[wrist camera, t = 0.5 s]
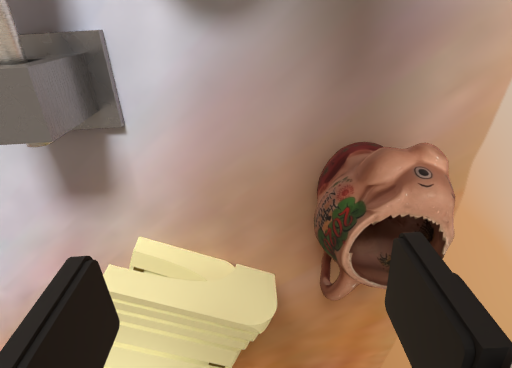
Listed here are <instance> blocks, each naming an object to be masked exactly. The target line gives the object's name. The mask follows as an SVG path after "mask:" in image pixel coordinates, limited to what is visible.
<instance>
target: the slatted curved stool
mask: <svg viewBox="0 0 512 368" xmlns="http://www.w3.org/2000/svg"><path fill="white" fill-rule="evenodd" d="M129 266H130V268H129V269H126V268H122V267H118V266H114V265H110V264H109V266H108V267H107V269H106V271H105V273H104V275H103V277H104V280H105V282H106V285H107V288H108V290H109V293H110V296H111V298H112V301H113V304H114V306H115V309H116V312H117V314H118V317H119V321H120V326H119V331H118V333H117V336H116V338H115V341H114V343H113V346H112V348H111V350H110V353H109V355H108V358H107V360H106V363H105V365H104V368H232V366H233V364H234V363H235V361H236V359H237V357H238V355H239V354H240V352H241V350H242V349H243V350H245V349H246V347H247V346H248V344H249V342H250V341H254V340H255V339H256V337H257V336H258V334H261V333H262V332H263V331H264V330H265V329H266V328H267V326H268V324H269V323H270V321H271V319H272V317H273V315H274V313H275V312H276V308H277V294H276V284H275V274H272V273H268V272H265V271H261V270H258V269H254V268H251V267H247V266H243V265H240V264H236V267H234V266H233V265H232V264H230V263H229V262H227V261H225V260H222V259H218V258H214V257H211V256H207V255H204V254H200V253H197V252H193V251H189V250H186V249H182V248H179V247H175V246H172V245H168V244H164V243H161V242H157V241H154V240H150V239H147V238H143V237H139V238H138V241H137V243H136V246H135V248H134V250H133V254H132V258H131V262H130V265H129Z"/></svg>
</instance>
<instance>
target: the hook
mask: <svg viewBox="0 0 512 368" xmlns="http://www.w3.org/2000/svg"><path fill="white" fill-rule="evenodd" d="M24 63H28V61H27V58H26V55H25V52H24V49H23V46H22V43H21V40H20V37H19V35H18V32H17V29H16V26H15V23H14V20H13V17H12V14H11V11H10V8H9V5H8V2H7V0H0V65H17V64H24ZM51 143H53V142H44V143H26V145H27V146H28V147H40V146H45V145H48V144H51Z"/></svg>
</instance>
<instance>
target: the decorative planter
mask: <svg viewBox="0 0 512 368" xmlns="http://www.w3.org/2000/svg"><path fill="white" fill-rule="evenodd" d="M448 169H449V164H448V160H447V157H446V156H445V154H444V153H443V152H442V151H441V150H440V149H439V148H437V147H436V146H434V145H432V144H429V143H420V144H417V145H415V146H412V147H410V148H406V149H398V148H391V147H383V146H381V145H378V144H375V143H370V142H358V143H354V144H351V145H348V146H346V147H344V148H342V149H340V150H339V151H338V152H337V153H336V154H335V155H334V156H333V157H332V158H331V159H330V160H329V162H328V163H327V164H326V166H325V168H324V169H323V171H322V174H321V176H320V179H319V183H318V189H317V199H318V203H317V207H316V210H315V216H314V228H315V234H316V237H317V239H318V241H319V243H320V244H321V246H322V247H323V249H324V253H323V258H322V269H321V277H320V286H321V290H322V292H323V295H324V296H325V297H326V298H328V299H330V300H338V299H341V298H343V297H344V296H346V295H347V294H349V293H350V292H351V291H352V290H353V289H354V288H355V287H356V286H358V285H359V284H364V285H367V286H371V287H376V288H383V289H387V282H388V275H389V267H390V260H391V253H392V246H393V240H394V239H395V238H398V237H399V235H400V233H408V232H421V233H422V234H423V235H424V236H425V238H426V239H427V240H428V241H429V243H430V244H431V245H432V247H433V248H434V249H435V251H436V252H437V253H438V254H439V256H440V257H441V258H442V259H443V257H444V255H445V253H446V251H447V249H448V247H449V246H450V244H451V242H452V241H453V238H454V226H453V212H454V204H455V195H454V191H453V188H452V185H451V182H450V178H449V171H448ZM331 258H332V259H333V260H335V261H336V262H337V264H338V265H339V267H340V274H339V277H338V278H337V280H336V281H335V282H334V283H333V284H332V283H331V282H330V262H331Z"/></svg>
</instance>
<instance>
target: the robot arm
mask: <svg viewBox="0 0 512 368" xmlns="http://www.w3.org/2000/svg"><path fill="white" fill-rule="evenodd" d="M385 307H386V311H387V313H388V315H389V318H390V320H391V322H392V324H393V326H394V329H395V331H396V333H397V335H398V337H399V340H400V341H401V344H402V346H403V348H404V351H405V353H406V355H407V357H408V359H409V362H410V364H411V366H412V368H512V342H511V341H510V340H509V338H508V337H507V336H506V335H505V333H504V332H503V331H502V330H501V328H500V327H499V326H498V324H497V323H496V322H495V320H494V319H493V318H492V317H491V316H490V314H489V313H488V312H487V310H486V309H485V308H484V306H483V305H482V304H481V303H480V302H479V300H478V299H477V298H476V296H475V295H474V294H473V293H472V291H471V290H470V289H469V287H468V286H467V285H466V284H465V282H464V281H463V280H462V279H461V278H460V277H459V276H458V275H457V274H455V273H452V271H451V270H450V269H449V267H448V266H447V265H446V264H445V262H444V261H443V260H442V258H441V257H440V256H439V254H438V253H437V252H436V251H435V249H434V248H433V247H432V245H431V244H430V243H429V241H428V240H427V239H426V238H425V236H424V235H423V234H422V233H421V232H408V233H400V235H399V237H398V238H395V239H394V240H393V246H392V253H391V260H390V267H389V275H388V282H387V289H386V296H385ZM119 326H120V321H119V317H118V314H117V312H116V309H115V306H114V304H113V301H112V298H111V296H110V293H109V290H108V288H107V285H106V282H105V280H104V277H103V274H102V272H101V269H100V266H99V264H98V262H97V261H96V260H93V259H92V258H91V257H90V256H79V257H70V258H68V259H67V260H66V262H65V263H64V265H63V266H62V267H61V269H60V270H59V271H58V273H57V274H56V276H55V277H54V278H53V280H52V281H51V283H50V284H49V285H48V287H47V288H46V289H45V291H44V292H43V294H42V295H41V296H40V298H39V299H38V300H37V302H36V303H35V305H34V306H33V307H32V309H31V310H30V311H29V313H28V314H27V316H26V317H25V318H24V320H23V321H22V323H21V324H20V325H19V327H18V328H17V329H16V331H15V332H14V334H13V335H12V336H11V338H10V339H9V340H8V342H7V343H6V345H5V346H4V347H3V349H2V350H1V351H0V368H104V365H105V363H106V360H107V358H108V355H109V353H110V350H111V348H112V346H113V343H114V341H115V338H116V336H117V333H118V331H119Z"/></svg>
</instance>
